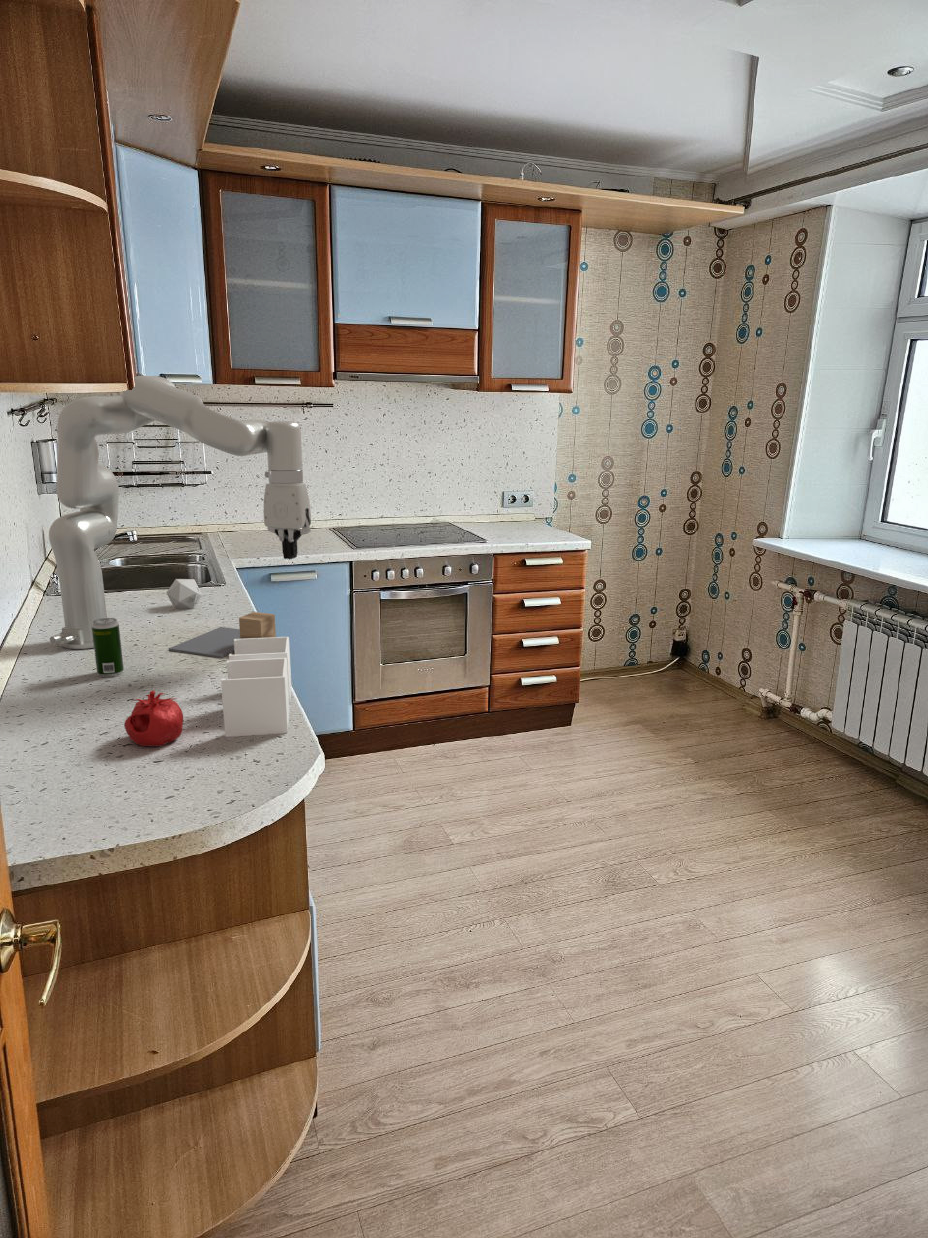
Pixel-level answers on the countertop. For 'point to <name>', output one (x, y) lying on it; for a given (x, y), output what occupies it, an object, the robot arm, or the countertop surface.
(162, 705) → the pomegranate
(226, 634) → the mat
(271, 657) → the storage container
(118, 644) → the beer can
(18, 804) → the countertop surface
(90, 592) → the robot arm
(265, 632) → the block
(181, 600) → the die
